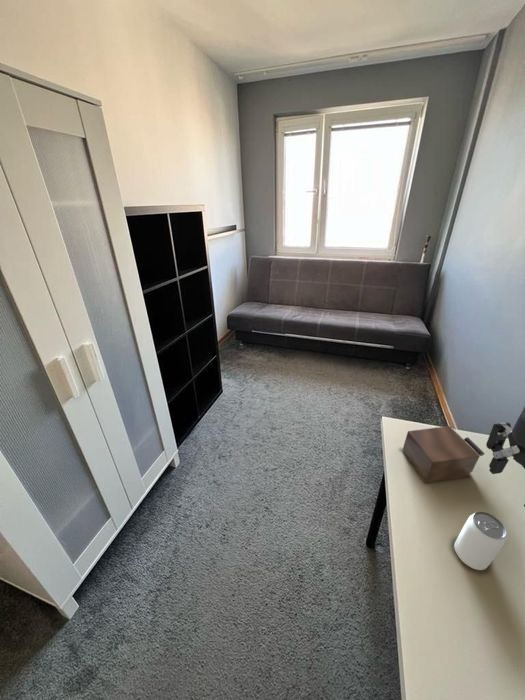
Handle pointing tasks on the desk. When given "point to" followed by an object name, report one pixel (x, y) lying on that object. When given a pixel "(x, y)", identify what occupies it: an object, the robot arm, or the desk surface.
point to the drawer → (473, 445)
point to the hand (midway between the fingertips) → (511, 488)
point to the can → (480, 540)
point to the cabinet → (439, 454)
